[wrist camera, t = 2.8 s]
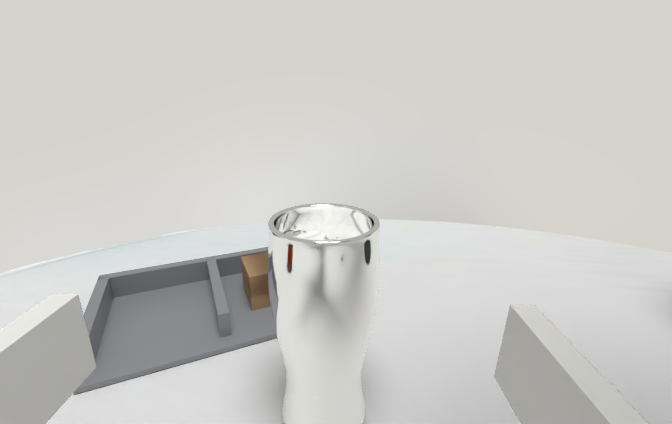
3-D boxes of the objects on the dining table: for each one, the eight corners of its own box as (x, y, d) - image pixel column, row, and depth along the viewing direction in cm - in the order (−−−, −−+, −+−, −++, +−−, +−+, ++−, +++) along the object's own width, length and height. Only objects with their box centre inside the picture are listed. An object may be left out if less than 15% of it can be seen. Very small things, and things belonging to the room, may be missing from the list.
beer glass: (284, 371, 28) (276, 201, 23) (367, 374, 28) (377, 203, 23) (266, 455, 22) (250, 242, 17) (375, 459, 21) (390, 245, 17)
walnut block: (284, 278, 42) (283, 249, 40) (297, 299, 37) (296, 267, 36) (243, 287, 40) (240, 256, 38) (252, 310, 35) (249, 277, 34)
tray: (299, 261, 47) (299, 241, 46) (343, 319, 35) (344, 294, 34) (105, 299, 38) (99, 275, 37) (74, 394, 26) (64, 363, 25)
